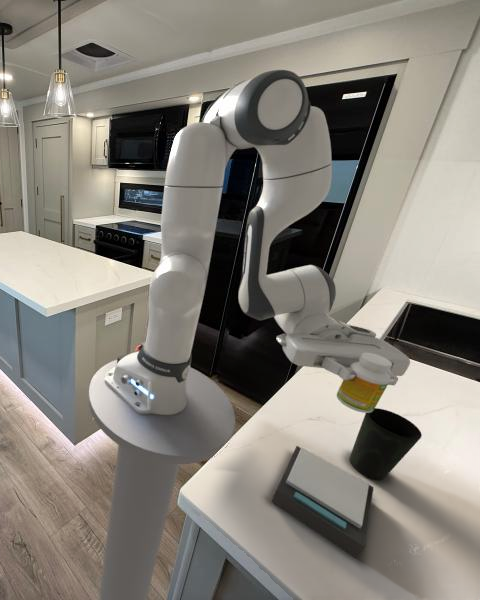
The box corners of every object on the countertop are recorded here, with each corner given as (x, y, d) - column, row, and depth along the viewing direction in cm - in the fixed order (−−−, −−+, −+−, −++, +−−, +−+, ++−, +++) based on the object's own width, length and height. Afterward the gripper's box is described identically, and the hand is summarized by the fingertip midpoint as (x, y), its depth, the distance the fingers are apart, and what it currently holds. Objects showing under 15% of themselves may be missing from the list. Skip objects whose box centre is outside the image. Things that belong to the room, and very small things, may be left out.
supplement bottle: (370, 418, 53) (396, 372, 49) (332, 401, 57) (354, 357, 53) (374, 404, 56) (399, 360, 53) (338, 389, 60) (359, 346, 56)
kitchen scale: (271, 501, 55) (277, 487, 53) (292, 455, 64) (297, 442, 63) (356, 558, 47) (366, 544, 46) (366, 498, 56) (375, 483, 55)
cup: (349, 445, 67) (372, 402, 62) (396, 471, 62) (425, 426, 57) (337, 463, 63) (361, 418, 58) (386, 493, 57) (417, 446, 53)
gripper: (276, 321, 66) (314, 358, 53) (379, 330, 64) (444, 371, 51) (268, 346, 68) (302, 387, 55) (366, 356, 66) (425, 400, 54)
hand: (371, 379), depth 53 cm, fingers closed on supplement bottle, 5 cm apart
